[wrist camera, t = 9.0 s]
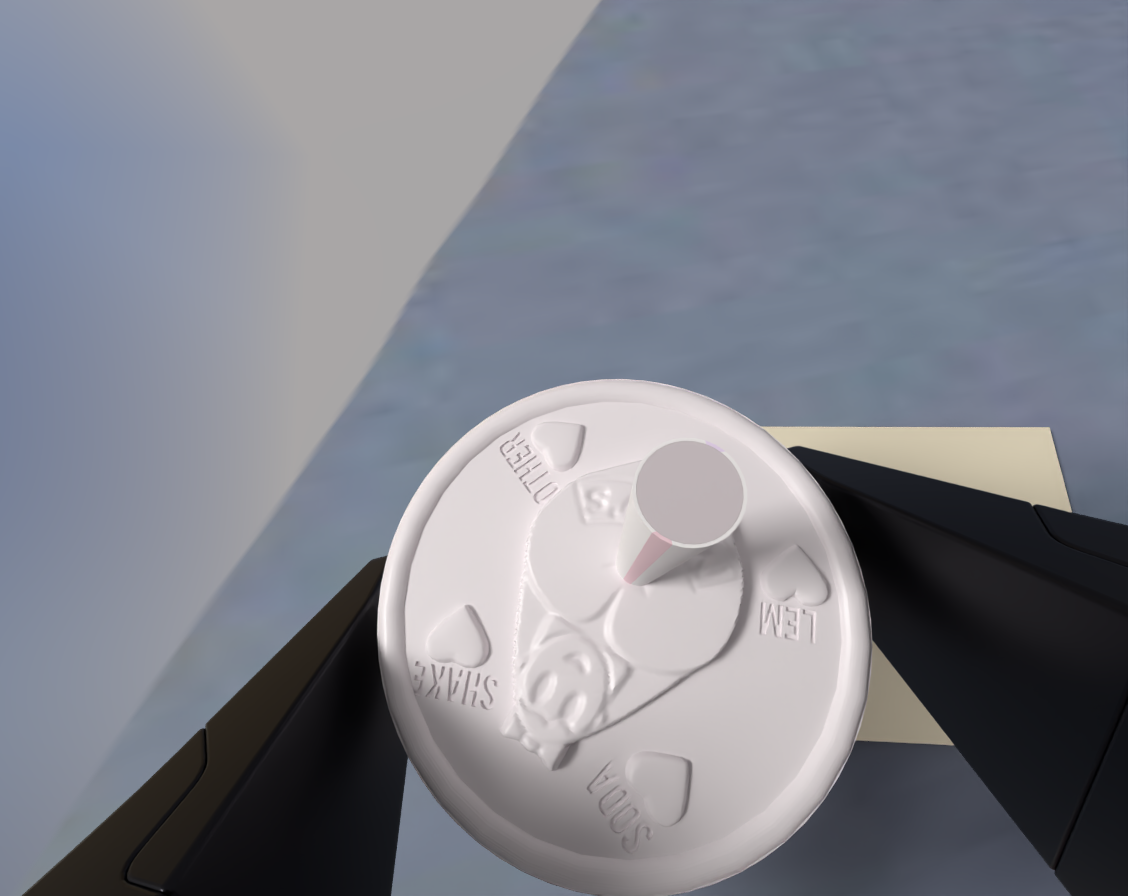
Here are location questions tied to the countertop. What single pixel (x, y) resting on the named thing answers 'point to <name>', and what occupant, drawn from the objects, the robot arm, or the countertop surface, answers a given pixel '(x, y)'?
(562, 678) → the smoothie
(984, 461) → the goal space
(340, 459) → the countertop surface
